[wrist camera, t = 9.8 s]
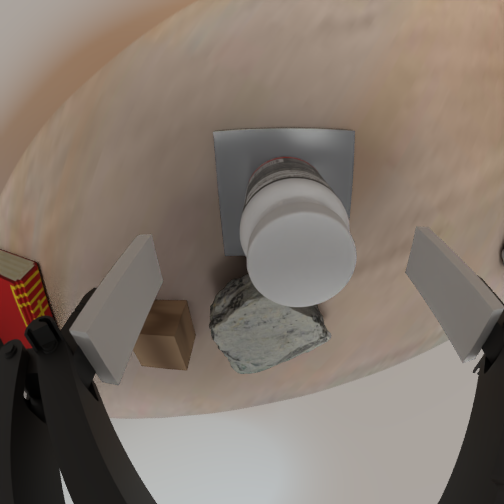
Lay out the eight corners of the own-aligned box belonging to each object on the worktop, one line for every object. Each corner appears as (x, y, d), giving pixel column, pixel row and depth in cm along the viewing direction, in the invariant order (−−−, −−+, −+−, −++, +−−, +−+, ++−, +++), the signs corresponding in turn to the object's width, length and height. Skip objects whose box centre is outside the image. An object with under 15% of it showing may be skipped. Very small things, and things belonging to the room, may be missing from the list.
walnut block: (154, 332, 29) (141, 365, 25) (142, 298, 27) (124, 332, 22) (195, 334, 29) (186, 370, 25) (186, 299, 27) (174, 336, 22)
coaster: (226, 251, 23) (225, 256, 23) (215, 130, 18) (213, 131, 18) (343, 248, 23) (345, 253, 22) (351, 130, 18) (354, 131, 17)
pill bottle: (314, 233, 21) (343, 322, 13) (242, 222, 21) (227, 309, 13) (331, 162, 19) (385, 215, 10) (252, 148, 18) (242, 189, 10)
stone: (289, 237, 25) (235, 263, 17) (353, 321, 24) (330, 387, 15) (225, 290, 30) (162, 327, 21) (280, 361, 29) (235, 420, 20)
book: (71, 355, 35) (59, 378, 30) (19, 331, 34) (6, 349, 29) (41, 261, 26) (18, 285, 21) (-12, 242, 25) (-33, 260, 20)
